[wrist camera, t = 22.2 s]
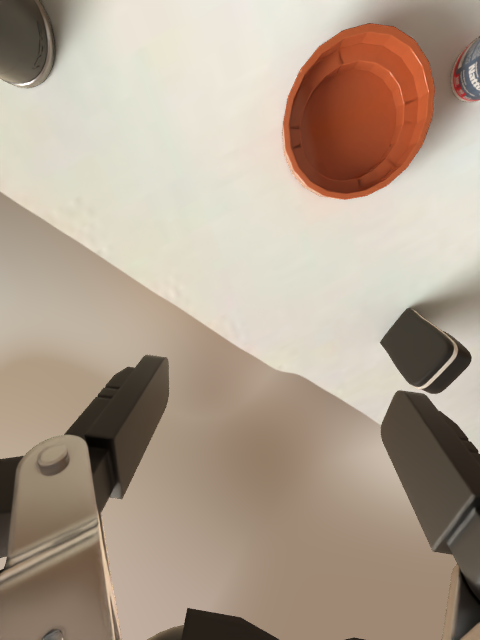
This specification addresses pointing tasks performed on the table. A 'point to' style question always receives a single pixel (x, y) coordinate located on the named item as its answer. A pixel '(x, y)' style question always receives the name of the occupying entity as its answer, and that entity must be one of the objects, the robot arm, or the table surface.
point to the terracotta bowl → (358, 112)
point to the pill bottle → (467, 73)
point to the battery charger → (425, 353)
